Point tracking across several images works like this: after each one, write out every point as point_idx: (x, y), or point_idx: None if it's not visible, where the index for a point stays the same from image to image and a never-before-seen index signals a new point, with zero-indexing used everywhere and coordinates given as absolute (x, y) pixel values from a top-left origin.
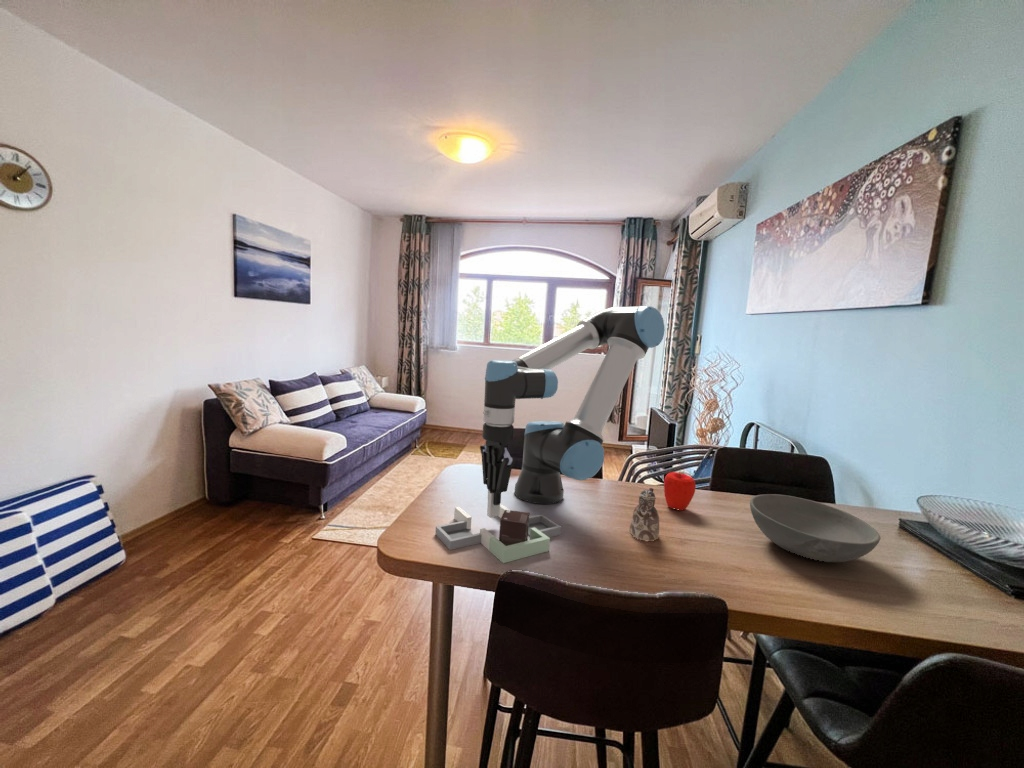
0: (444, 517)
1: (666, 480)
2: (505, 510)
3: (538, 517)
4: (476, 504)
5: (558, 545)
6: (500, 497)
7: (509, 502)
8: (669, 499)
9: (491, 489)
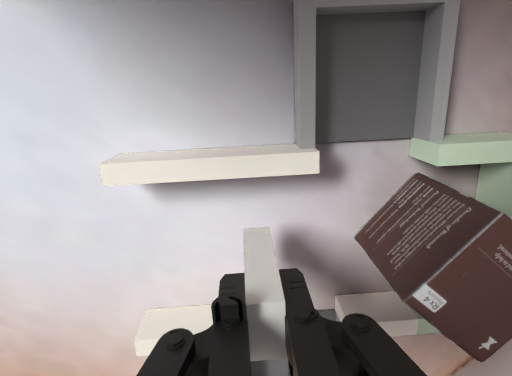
0: (133, 346)
1: None
2: (413, 305)
3: (314, 27)
4: (34, 200)
5: (496, 70)
6: (308, 295)
7: (33, 29)
8: None
9: (250, 347)
